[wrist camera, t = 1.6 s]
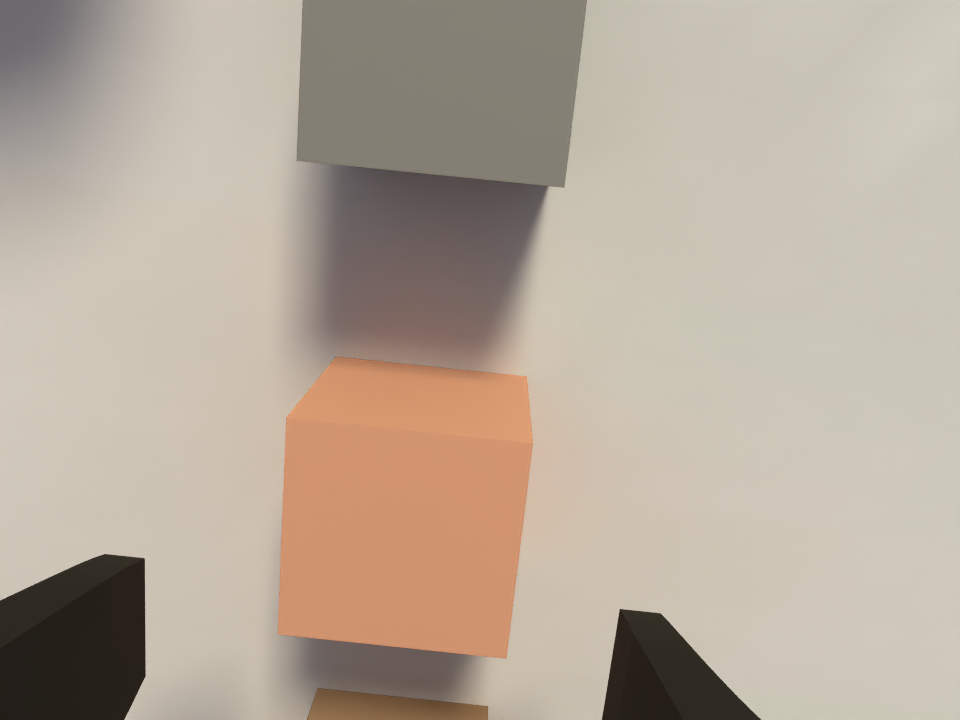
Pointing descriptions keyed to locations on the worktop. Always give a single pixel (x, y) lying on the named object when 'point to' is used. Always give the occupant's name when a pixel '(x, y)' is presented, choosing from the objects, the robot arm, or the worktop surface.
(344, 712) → the walnut cube
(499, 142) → the gray cube
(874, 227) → the worktop surface
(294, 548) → the terracotta cube
